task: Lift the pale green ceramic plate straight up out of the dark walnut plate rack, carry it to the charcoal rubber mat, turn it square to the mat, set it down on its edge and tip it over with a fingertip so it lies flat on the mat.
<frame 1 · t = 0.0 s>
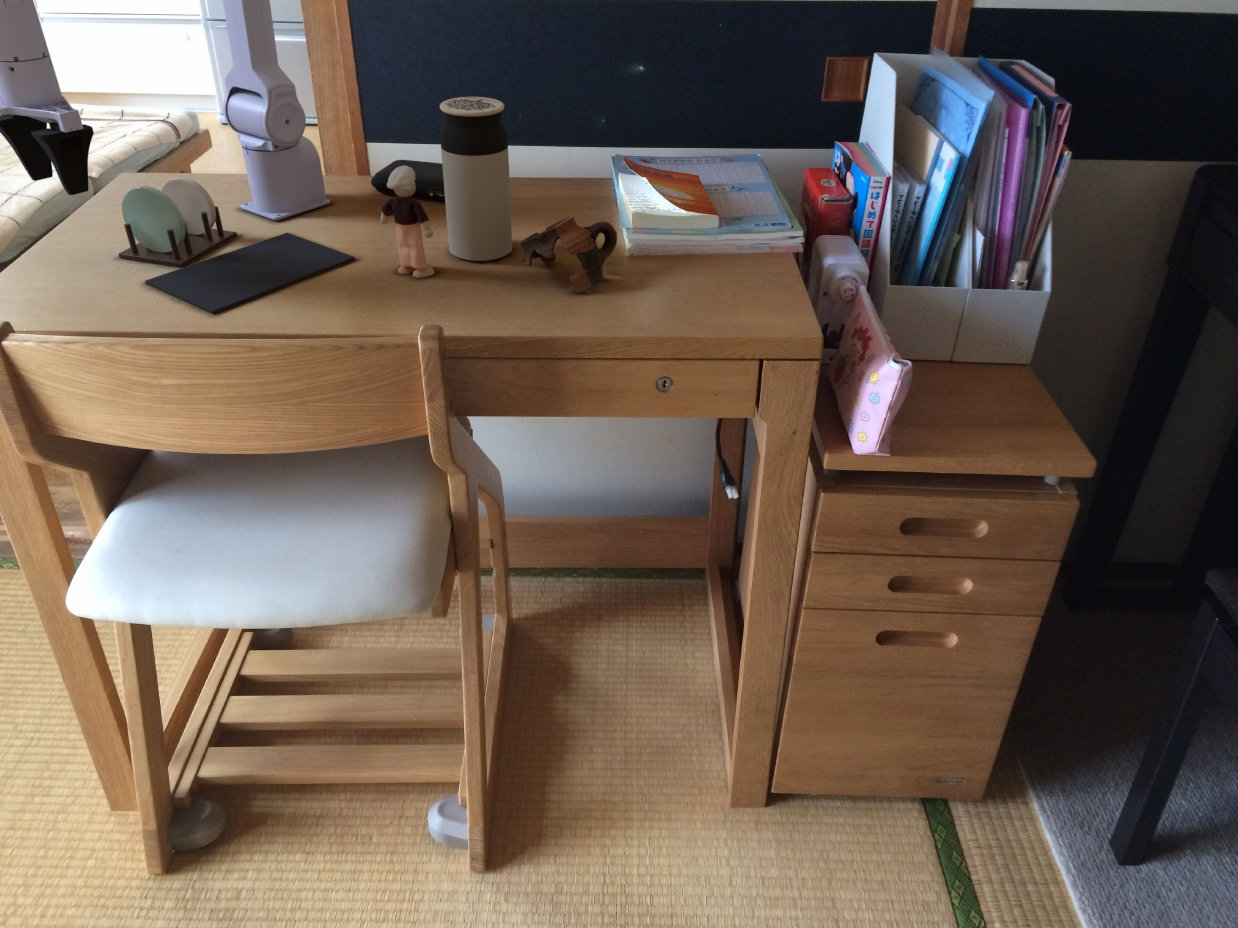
hand: (60, 185, 105), 10 cm above the table, tool pointing down, fingers open, 7 cm apart
travel mug: (481, 252, 119), on the table
charcoal mat: (253, 271, 111), on the table
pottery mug: (572, 278, 113), on the table
plate rack: (180, 247, 117), on the table
carrying case: (426, 192, 137), on the table
cream saucer: (188, 206, 117), point 4 cm above the table, touching plate rack
grandmother figurine: (412, 272, 113), on the table
pale green plate: (153, 220, 112), point 5 cm above the table, touching plate rack
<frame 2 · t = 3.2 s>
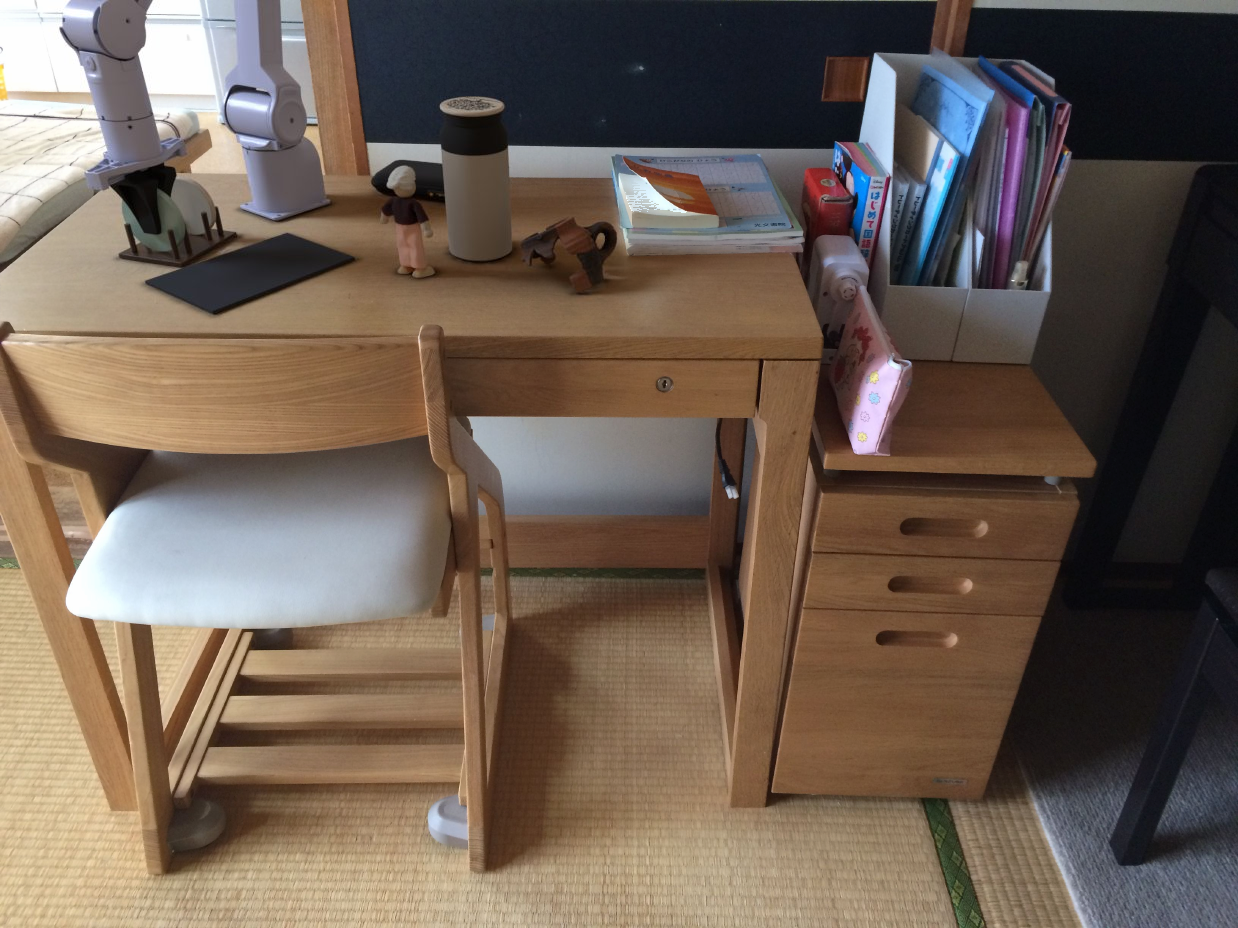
hand: (156, 231, 113), 3 cm above the table, tool pointing down, fingers closed on pale green plate, 1 cm apart
pale green plate: (153, 218, 112), point 5 cm above the table, touching gripper
everything else where it was.
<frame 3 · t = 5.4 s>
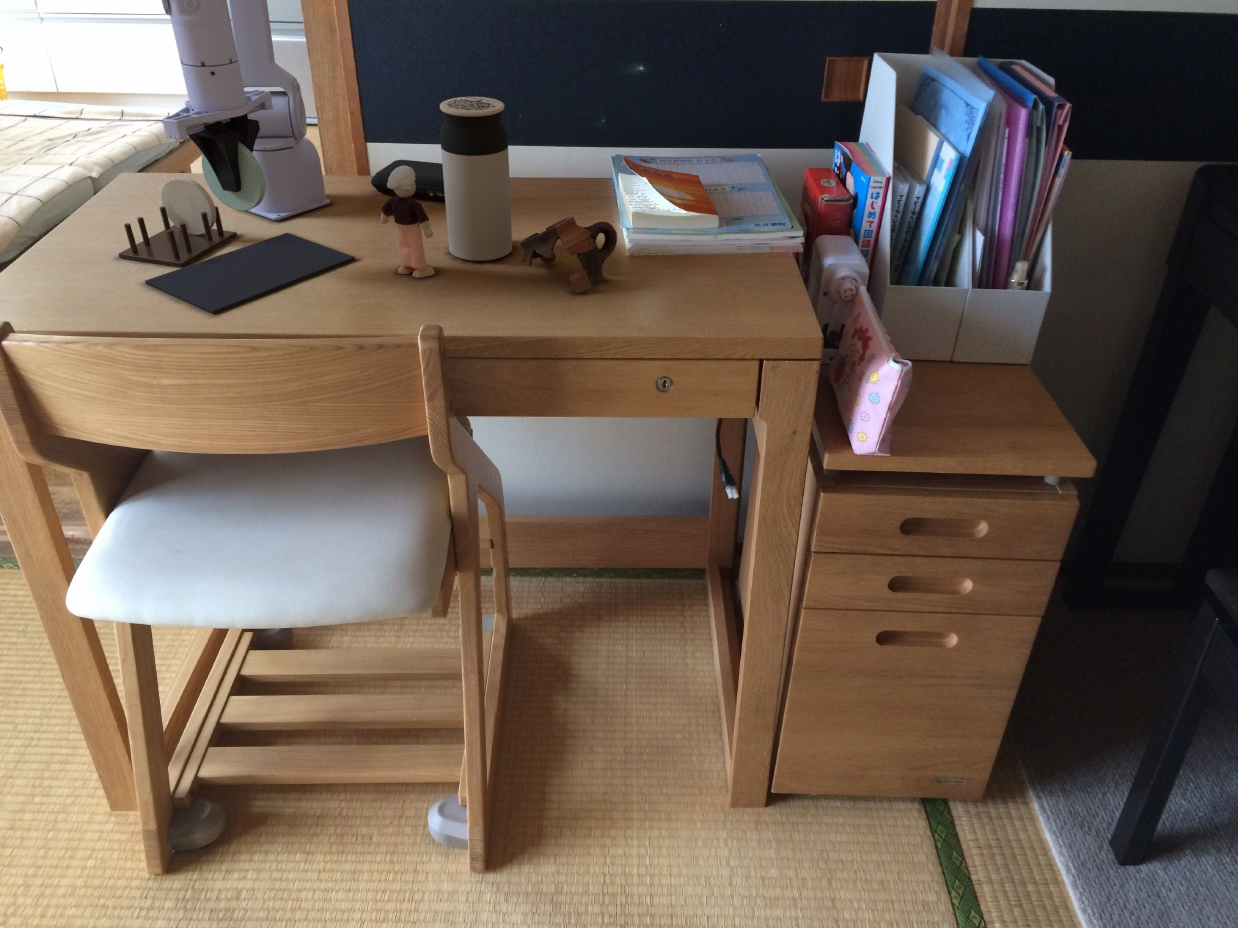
hand: (236, 188, 106), 10 cm above the table, tool pointing down, fingers closed on pale green plate
pale green plate: (233, 175, 105), point 12 cm above the table, touching gripper
everything else where it was.
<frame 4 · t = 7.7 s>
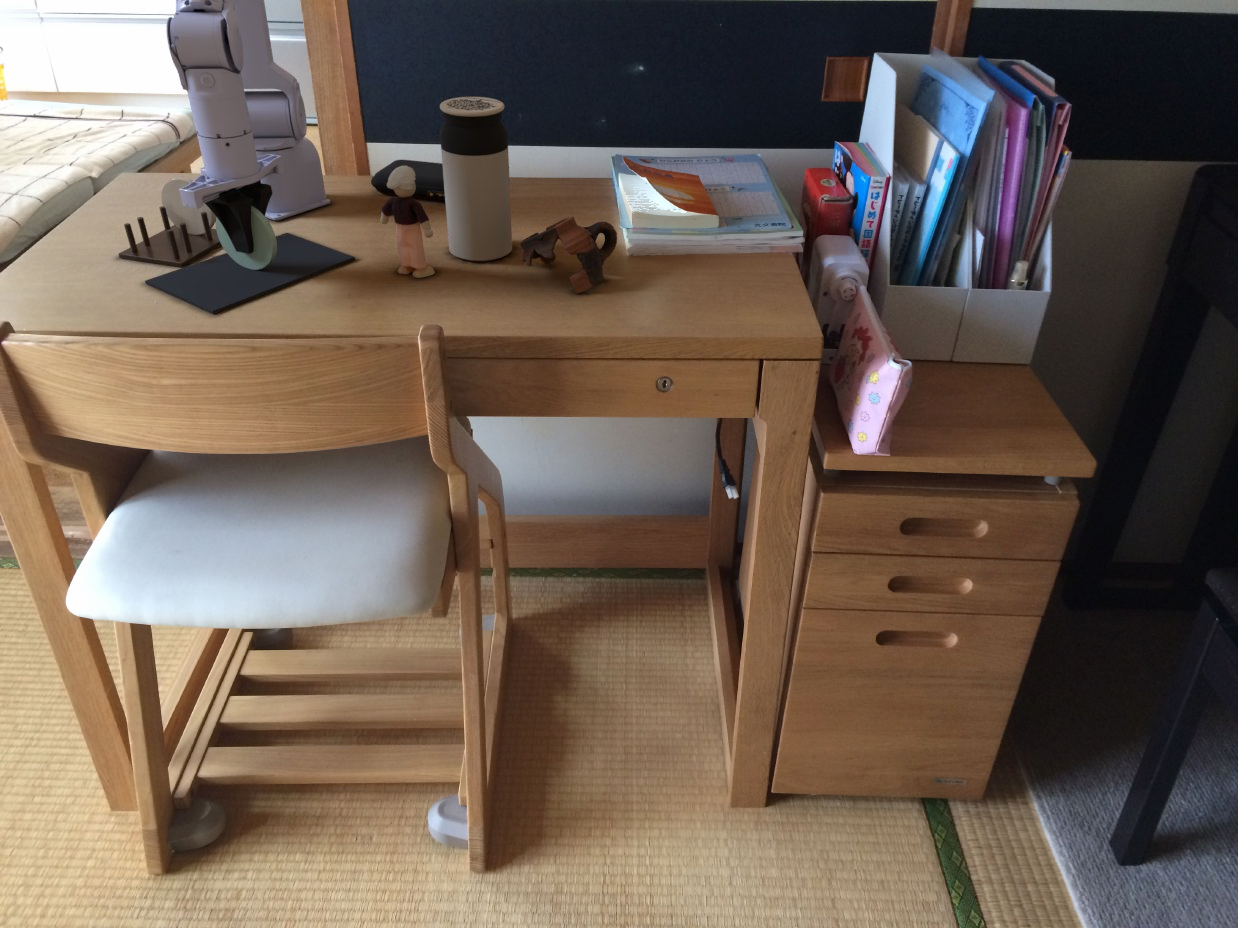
hand: (249, 249, 110), 3 cm above the table, tool pointing down, fingers closed
pale green plate: (246, 236, 109), point 4 cm above the table, touching charcoal mat
everything else where it was.
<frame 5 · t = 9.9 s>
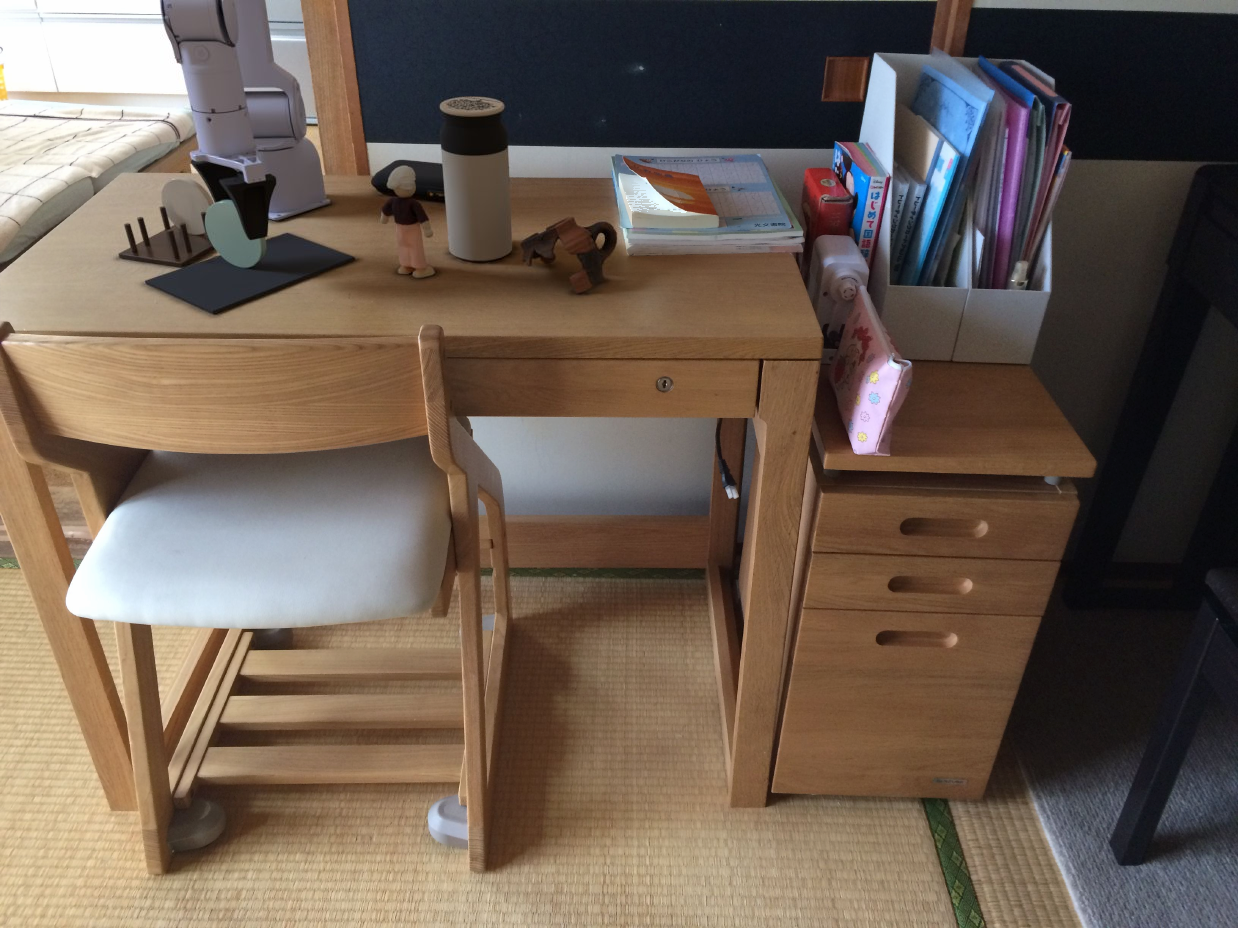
hand: (244, 228, 108), 5 cm above the table, tool pointing down, fingers open, 7 cm apart
pale green plate: (235, 234, 109), point 4 cm above the table, tilted 22°, touching charcoal mat, gripper
everything else where it was.
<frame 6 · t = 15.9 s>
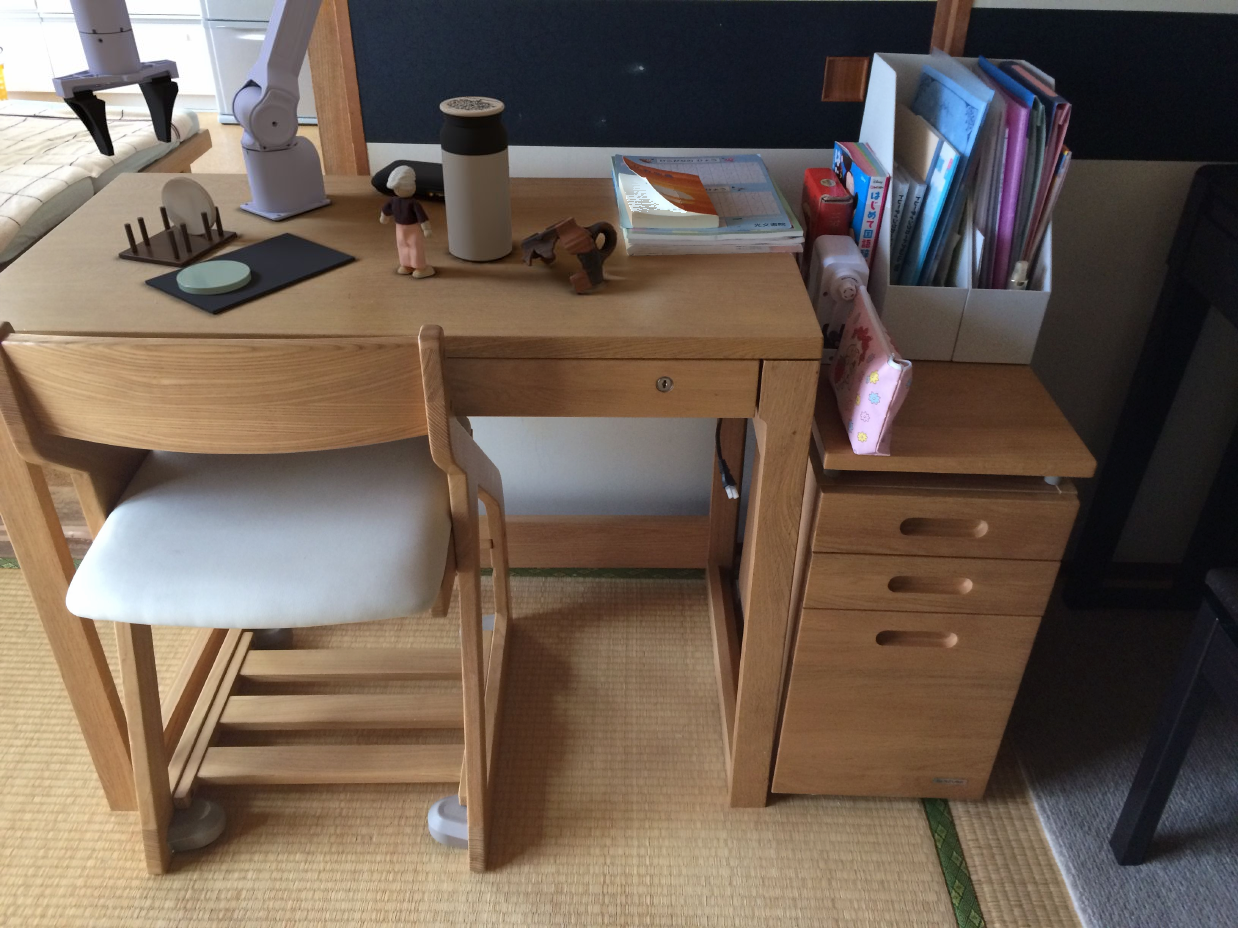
hand: (136, 148, 116), 10 cm above the table, tool pointing down, fingers open, 7 cm apart
pale green plate: (214, 277, 108), point 1 cm above the table, tilted 90°, touching charcoal mat
everything else where it was.
at the end: pale green plate inside the target area on the charcoal mat (5.0 cm from its centre), point 0.8 cm above the charcoal mat's base; the gripper is holding nothing; cream saucer moved 0.1 cm from its start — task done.
